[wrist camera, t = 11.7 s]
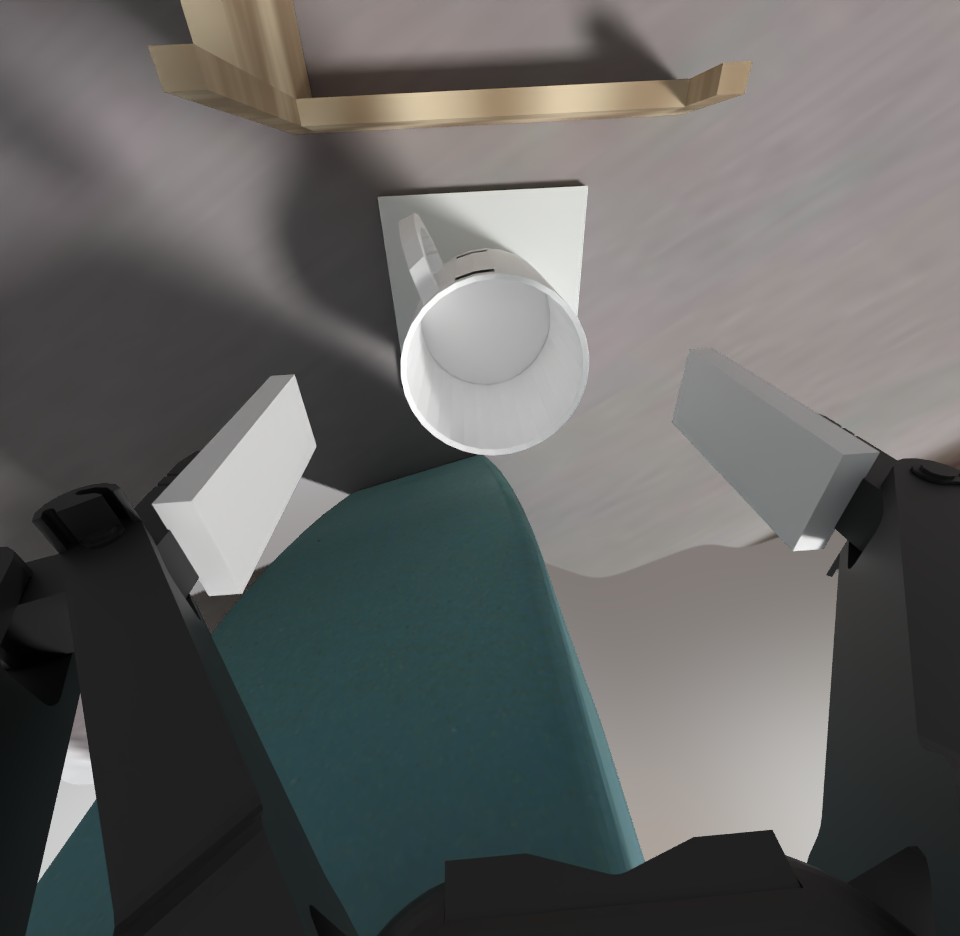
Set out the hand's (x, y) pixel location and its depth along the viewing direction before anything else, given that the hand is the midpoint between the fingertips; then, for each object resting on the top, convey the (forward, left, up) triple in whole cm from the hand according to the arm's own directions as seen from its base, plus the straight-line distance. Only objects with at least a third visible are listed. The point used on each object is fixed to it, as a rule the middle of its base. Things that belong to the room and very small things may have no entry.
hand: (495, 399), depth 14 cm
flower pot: (-5, -19, -16) cm, 25 cm away
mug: (0, 0, -16) cm, 16 cm away
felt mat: (0, 0, -16) cm, 16 cm away
